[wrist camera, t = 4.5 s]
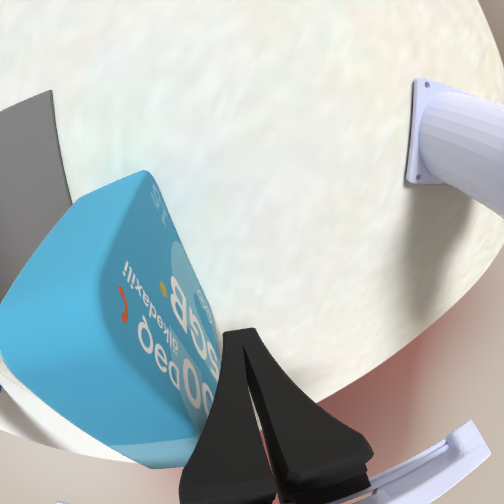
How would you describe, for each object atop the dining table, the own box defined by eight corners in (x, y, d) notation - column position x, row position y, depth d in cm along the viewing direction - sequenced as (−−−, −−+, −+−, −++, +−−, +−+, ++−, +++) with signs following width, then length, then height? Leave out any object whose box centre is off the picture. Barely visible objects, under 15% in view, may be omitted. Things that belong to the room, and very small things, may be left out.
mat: (51, 89, 11) (49, 90, 11) (139, 371, 24) (139, 374, 24) (-72, 157, 9) (-74, 158, 9) (28, 371, 22) (28, 373, 22)
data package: (213, 312, 22) (239, 465, 12) (160, 327, 21) (161, 475, 11) (149, 162, 15) (80, 310, 5) (83, 190, 15) (-23, 341, 5)
